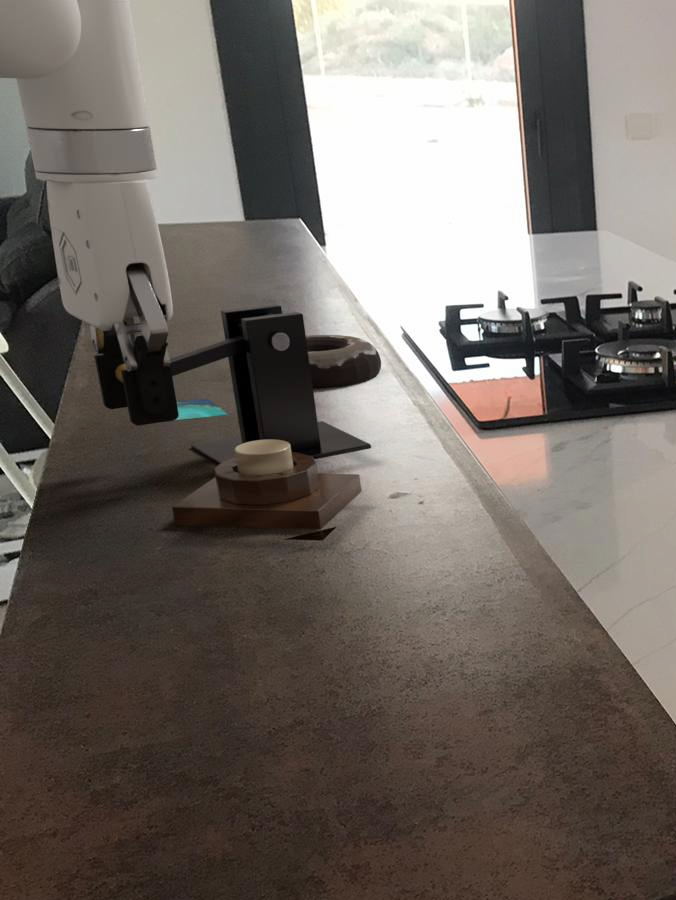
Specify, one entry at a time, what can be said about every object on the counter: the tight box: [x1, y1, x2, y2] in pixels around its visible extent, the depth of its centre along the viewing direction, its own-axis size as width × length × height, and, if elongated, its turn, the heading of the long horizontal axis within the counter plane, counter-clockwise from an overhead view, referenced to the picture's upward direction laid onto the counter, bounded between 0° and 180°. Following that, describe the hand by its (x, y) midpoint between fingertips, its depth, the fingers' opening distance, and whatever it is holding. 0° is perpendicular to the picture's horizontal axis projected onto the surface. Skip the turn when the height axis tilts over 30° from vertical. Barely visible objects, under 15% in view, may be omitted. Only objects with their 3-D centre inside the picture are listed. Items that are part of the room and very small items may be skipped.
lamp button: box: [235, 439, 294, 475], centre depth 89 cm, size 4×4×2 cm
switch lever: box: [115, 313, 275, 383], centre depth 97 cm, size 12×5×2 cm, turn 133°
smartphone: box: [164, 398, 229, 423], centre depth 115 cm, size 7×1×15 cm
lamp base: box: [171, 452, 362, 542], centre depth 90 cm, size 10×8×4 cm
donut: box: [306, 334, 382, 390], centre depth 125 cm, size 12×12×4 cm
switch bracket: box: [190, 303, 372, 466], centre depth 101 cm, size 11×9×12 cm
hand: (141, 411), depth 95 cm, fingers closed on switch lever, 5 cm apart
